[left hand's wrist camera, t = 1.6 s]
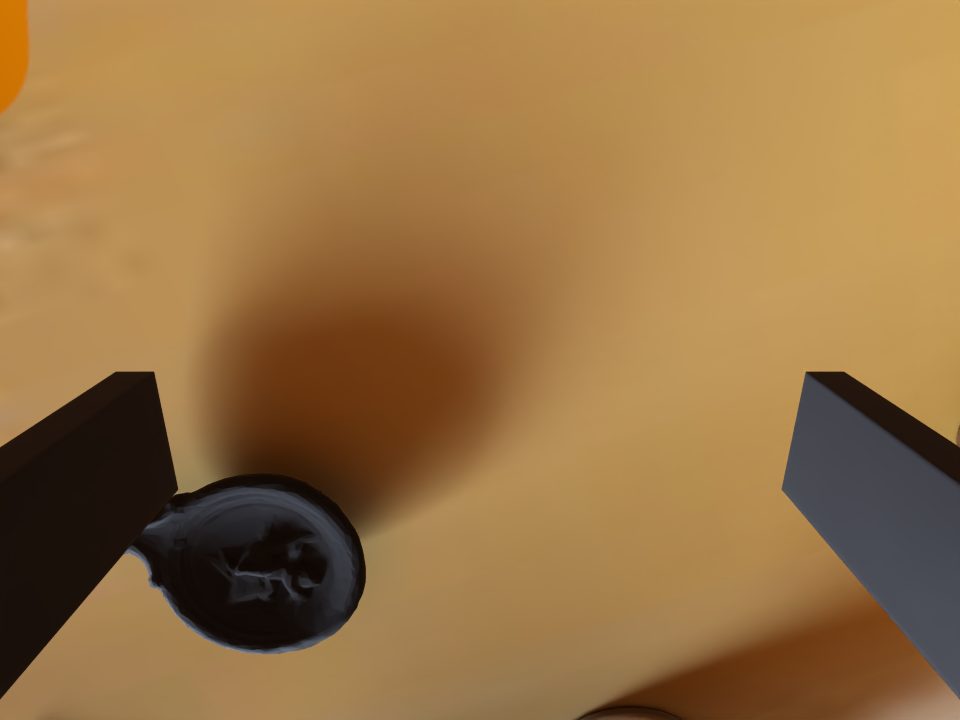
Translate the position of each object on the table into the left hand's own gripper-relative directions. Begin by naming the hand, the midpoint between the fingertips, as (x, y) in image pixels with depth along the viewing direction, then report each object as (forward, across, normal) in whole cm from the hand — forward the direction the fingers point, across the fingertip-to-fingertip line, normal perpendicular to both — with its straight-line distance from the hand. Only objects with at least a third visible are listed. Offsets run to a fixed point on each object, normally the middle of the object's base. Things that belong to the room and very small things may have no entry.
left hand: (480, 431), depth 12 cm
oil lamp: (+28, +18, +22) cm, 40 cm away
